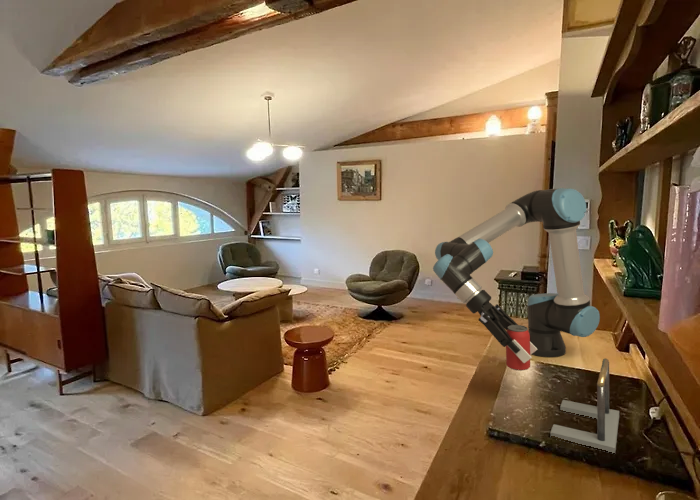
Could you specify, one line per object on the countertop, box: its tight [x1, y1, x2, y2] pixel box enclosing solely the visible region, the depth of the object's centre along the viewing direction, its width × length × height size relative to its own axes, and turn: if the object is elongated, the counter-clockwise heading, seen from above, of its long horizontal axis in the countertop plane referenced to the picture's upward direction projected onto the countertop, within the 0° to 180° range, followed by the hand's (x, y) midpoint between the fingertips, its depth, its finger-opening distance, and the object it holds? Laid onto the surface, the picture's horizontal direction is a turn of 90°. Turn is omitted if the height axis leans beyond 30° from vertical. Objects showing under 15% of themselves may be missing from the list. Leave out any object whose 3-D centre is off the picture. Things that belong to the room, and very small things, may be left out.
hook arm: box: [596, 358, 610, 441], centre depth 106 cm, size 17×2×17 cm, turn 144°
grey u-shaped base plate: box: [549, 399, 620, 454], centre depth 109 cm, size 20×14×2 cm
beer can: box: [505, 324, 531, 371], centre depth 120 cm, size 7×7×12 cm
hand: (530, 356), depth 118 cm, fingers closed on beer can, 7 cm apart
